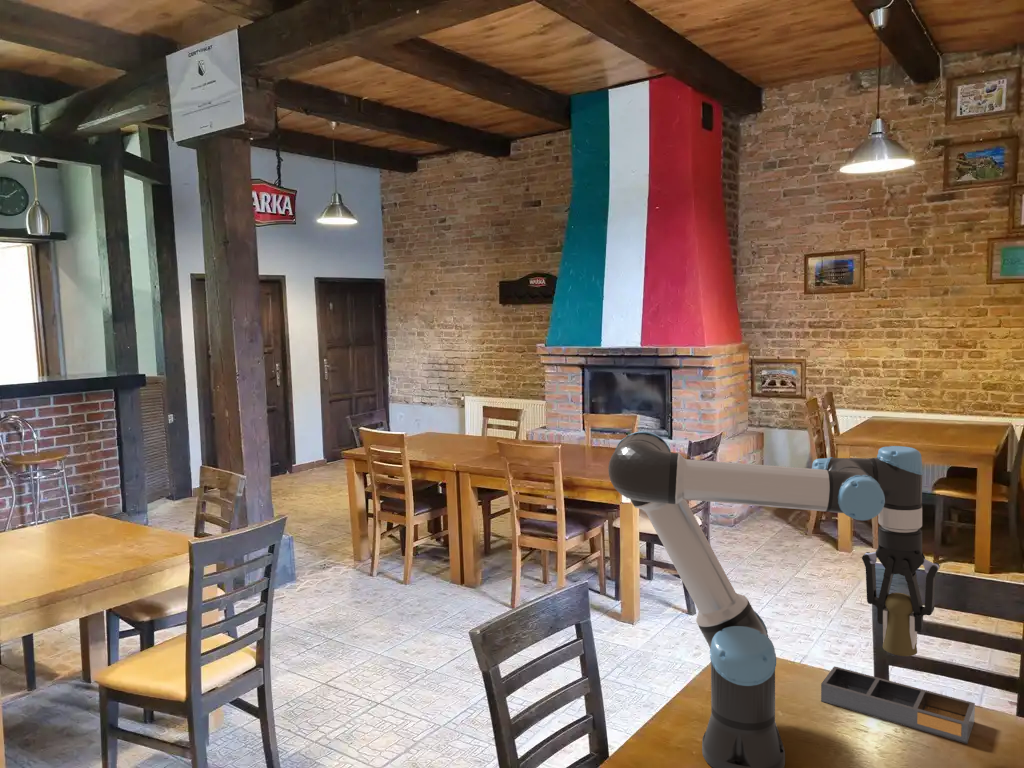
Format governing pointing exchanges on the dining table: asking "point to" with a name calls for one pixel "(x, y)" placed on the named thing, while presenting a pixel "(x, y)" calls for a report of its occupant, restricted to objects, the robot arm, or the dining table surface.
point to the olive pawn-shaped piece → (898, 625)
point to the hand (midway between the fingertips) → (899, 642)
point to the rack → (899, 703)
